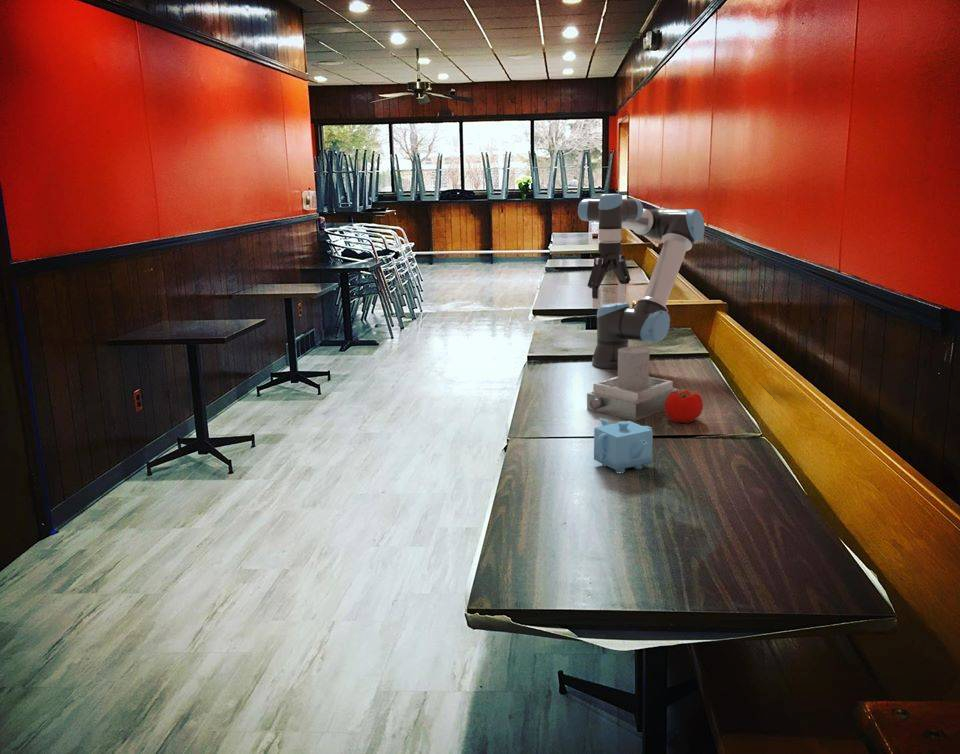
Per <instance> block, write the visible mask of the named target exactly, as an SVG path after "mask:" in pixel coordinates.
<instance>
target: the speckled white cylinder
mask: <svg viewBox="0 0 960 754" xmlns="http://www.w3.org/2000/svg"><path fill="white" fill-rule="evenodd" d="M650 353H651V350H650V349H649V348H647V347H643V346H642V347H641V346H629V347H623V348H620V349H618V369H617V376H618V388H622V389H627V390H632V391H640V390H643V389H646V388H649V377H650Z"/></svg>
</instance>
